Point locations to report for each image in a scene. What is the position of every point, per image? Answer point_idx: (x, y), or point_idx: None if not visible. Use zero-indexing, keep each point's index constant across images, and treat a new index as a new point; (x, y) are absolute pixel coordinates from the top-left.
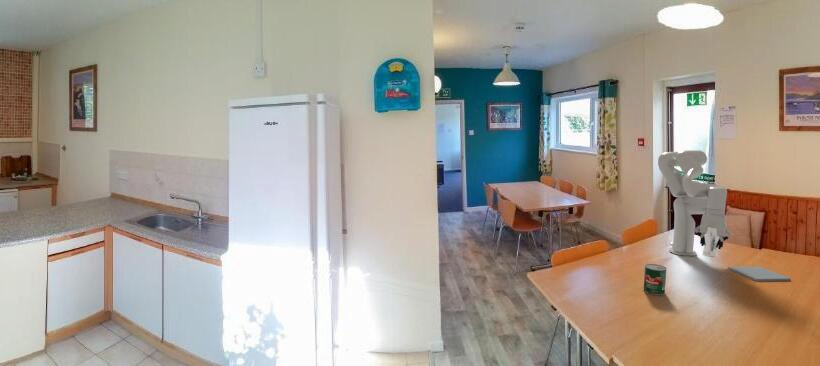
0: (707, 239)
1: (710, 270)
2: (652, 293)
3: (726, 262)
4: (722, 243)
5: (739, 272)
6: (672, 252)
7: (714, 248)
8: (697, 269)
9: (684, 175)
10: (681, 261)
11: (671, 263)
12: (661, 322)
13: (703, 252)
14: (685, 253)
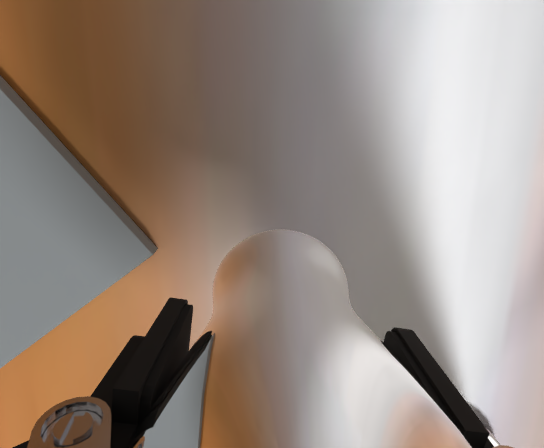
0: (396, 371)
1: (266, 137)
2: None
3: None
4: (104, 379)
5: (63, 155)
6: (489, 431)
7: (241, 288)
8: (358, 105)
9: None
10: (451, 269)
11: (534, 169)
12: None
13: (347, 286)
14: None
